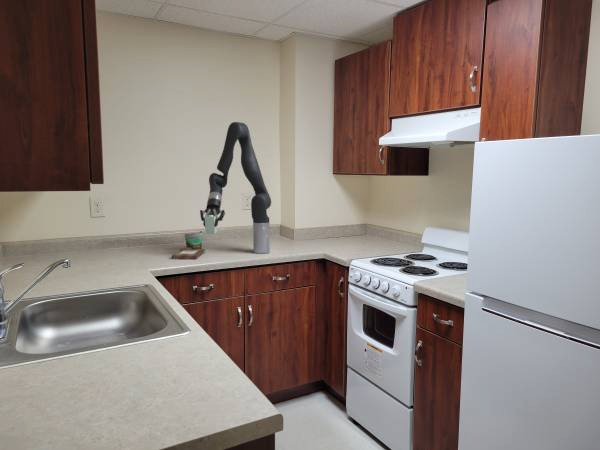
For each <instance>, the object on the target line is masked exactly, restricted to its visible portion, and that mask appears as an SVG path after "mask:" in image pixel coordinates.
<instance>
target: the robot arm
mask: <svg viewBox="0 0 600 450" xmlns="http://www.w3.org/2000/svg"><path fill="white" fill-rule="evenodd" d="M226 131H227V132H226V137H225V140H224V145H223V150H222V152H221V156H220V158H219V159H218V160H219V161H218V164H217V165H216V170H217V171H219V172H221V174H220V173H217V172H212V173H211V174H210V175H209V178H208V184H209V194H208V197H207V202H206V208H205V210H201V209H200V210H199V212H200V215H199V216H200V220H201V221H202V222H203V223H202V224H203V228H204V227H205V217H207V216H208V215H213V216H216V219H215V224H214V225H215V227H216V226H218V224H219V222H222V221H223V219H224V216H225V215H226V211H225V209H222V210H221V206H222V203H223V201H222V200H223V199H222V196H223V188H225V187H226V186H227V184H228V179H229V178H228V177H229V171H230V168H231V166H232V163H233V160H234V149H235V146H236V143H237V141H238V143H239V146H240V150H241V152H240V153H241V154H240V165H241V168H242V170H243V174H244V176H245V177H246V179H247V180H248V182H249V183H250V185H251V187H252V188H253V191H254V195H253V197H252V198H251V203H250V208H251V211H250V212H251V219H252V230H253V231H252V236H253V237H252V238H253V239H252V245H253V246H252V247H253V250H252V251H253V254H270V252H271V235H270V217H269V215H268V213H267V210H269V208H270V207H271V206H272V200H271V199H272V198H271V195H270V193H269V191H268V190H267V189H268V188H267V187H266V184H265V182H264V181H265V180H264V178H263V175H262V171H261V169H260V165H259V161H258V159H257V157H256V152H255V150H254V147H253V143H252V138H251V135H250V130H249V127H248V126H247V124H246V123H244V122H242V121H241V122H240V121H233V122H231V123H230V124H229V125H228V128H227V130H226ZM222 174H223V175H222ZM204 215H205V216H204ZM218 215H219V217H218Z"/></svg>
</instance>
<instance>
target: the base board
mask: <svg viewBox="0 0 600 450" xmlns="http://www.w3.org/2000/svg"><path fill="white" fill-rule="evenodd" d="M205 252H206V250H205V249H204V248H202V249H187V248H180V249H179V250H178V251H176V252H175V253H172V255H171V259H172V260H197V259H199V258H200V257H201V256H203V254H205Z"/></svg>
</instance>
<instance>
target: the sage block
mask: <svg viewBox="0 0 600 450" xmlns="http://www.w3.org/2000/svg"><path fill="white" fill-rule="evenodd" d="M204 217H205V216H204ZM215 219H216V216H213V215H208V216H207V217H205V228H204V230H205V232H204V233H205V235H215V234H217V233H218V231H217V230H218V229H217V228H218V227H217V226H218V225H217V226H216V227H215V225H214V224H215Z"/></svg>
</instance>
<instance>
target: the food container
mask: <svg viewBox="0 0 600 450" xmlns="http://www.w3.org/2000/svg"><path fill="white" fill-rule="evenodd" d="M203 236H204V233H203V231H201V230H199V232H192V233H184V239H185V247H186V249H203V247H202V245H203Z"/></svg>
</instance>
